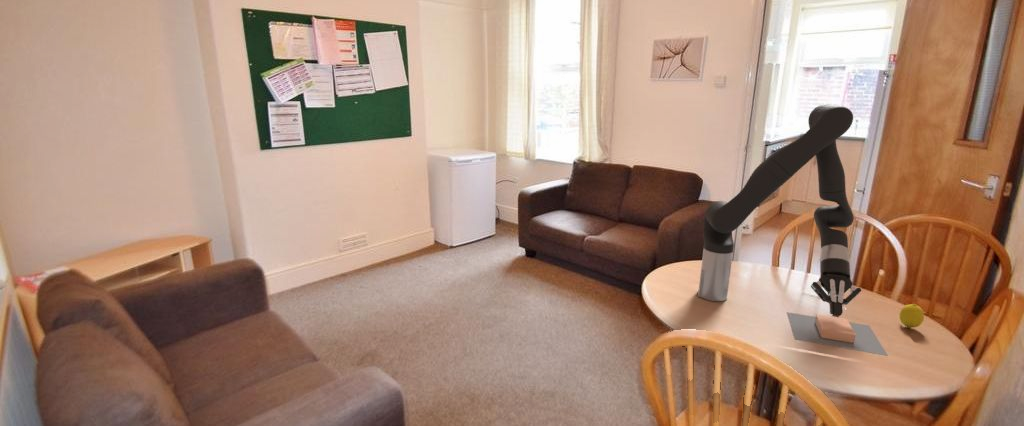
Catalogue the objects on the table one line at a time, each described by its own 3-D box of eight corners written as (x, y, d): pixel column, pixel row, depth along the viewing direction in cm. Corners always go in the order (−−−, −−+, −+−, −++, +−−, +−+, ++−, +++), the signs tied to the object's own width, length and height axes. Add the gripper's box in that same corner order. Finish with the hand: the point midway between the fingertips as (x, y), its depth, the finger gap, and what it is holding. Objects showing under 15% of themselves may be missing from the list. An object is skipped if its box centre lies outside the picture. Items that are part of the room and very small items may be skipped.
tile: (814, 322, 145) (820, 338, 136) (816, 314, 144) (822, 329, 136) (845, 327, 142) (853, 343, 133) (847, 319, 141) (855, 334, 133)
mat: (794, 341, 136) (794, 339, 136) (786, 313, 152) (786, 312, 152) (887, 357, 128) (888, 355, 128) (868, 327, 144) (869, 325, 144)
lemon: (914, 334, 140) (921, 309, 137) (893, 326, 144) (899, 302, 142) (924, 330, 142) (930, 305, 140) (902, 322, 147) (908, 298, 145)
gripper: (812, 254, 145) (813, 307, 138) (864, 260, 140) (867, 315, 133) (807, 264, 151) (807, 316, 144) (856, 270, 146) (859, 324, 139)
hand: (836, 315), depth 138 cm, fingers closed
